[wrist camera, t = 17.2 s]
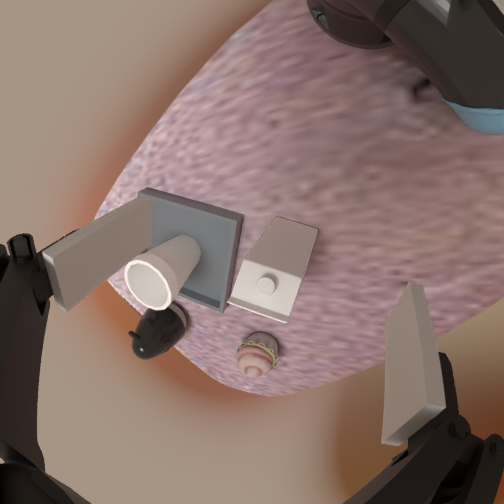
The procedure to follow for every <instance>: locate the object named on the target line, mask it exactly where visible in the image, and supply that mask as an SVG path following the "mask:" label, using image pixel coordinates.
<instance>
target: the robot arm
mask: <svg viewBox="0 0 504 504" xmlns="http://www.w3.org/2000/svg"><path fill="white" fill-rule="evenodd" d="M307 4H308V7H309V10H310V12H311V14H312V16H313V18H314V20H315V21H316V23H317V24H318V25H319V27H320V28H321V29H322V30H323V31H325V32H326V33H327V34H328V35H330V36H331V37H333V38H334V39H336V40H338V41H340V42H342V43H344V44H347V45H350V46H353V47H358V48H365V49H375V48H382V47H386V46H389V45H392V44H394V43H395V44H396V45H397V46H398V47H399V48H401V49H402V50H403V51H404V52H405V54H406V55H407V56H408V57H409V58H410V59H411V60H412V61H413V62H414V63H415V64H416V65H417V66H418V67H419V68H420V69H421V71H422V72H423V73H424V74H425V75H426V76H427V77H428V78H429V80H430V81H431V82H432V83H433V84H434V86H435V87H436V88H437V89H438V90H439V94H440V96H441V98H442V99H443V100H444V101H445V102H446V103H447V104H448V105H450V106H451V107H452V108H453V110H454V111H455V112H456V113H457V115H458V116H459V117H460V119H461V120H462V121H463V122H464V123H465V124H466V125H467V126H469V127H470V128H471V129H473V130H474V131H476V132H479V133H483V134H489V135H501V134H504V0H307ZM7 245H8V249H9V252H10V256H9V255H8V254H7V250H6V247H5V246H4V245H2V244H0V457H1V458H2V459H3V460H4V461H5V463H3V464H0V504H91V503H90V502H88V501H87V500H85V499H84V498H83V497H81V496H80V495H79V494H77V493H76V492H74V491H73V490H72V489H71V488H69V487H68V486H66V485H65V484H63V483H61V482H60V481H58V480H56V479H55V478H53V477H52V476H50V475H48V474H47V473H45V464H44V458H43V454H42V451H41V449H40V447H39V445H38V442H37V402H38V386H39V374H40V364H41V355H42V349H43V341H44V335H45V329H46V324H47V318H48V313H49V308H50V301H49V298H50V297H51V296H52V295H54V298H55V301H56V305H57V306H59V307H60V308H61V309H63V310H64V311H66V312H68V311H69V310H70V309H72V308H73V307H74V306H75V305H77V304H78V303H79V302H80V301H81V300H82V299H84V298H85V297H86V296H87V295H88V294H89V293H91V292H92V291H93V290H94V289H96V288H97V287H98V286H99V285H100V284H102V283H103V282H104V281H106V280H107V279H108V278H109V277H111V276H112V275H113V274H114V273H116V272H117V271H118V270H119V269H121V268H122V267H123V266H125V265H126V264H127V263H128V262H130V261H131V260H132V259H134V258H135V257H136V256H137V255H139V254H140V253H141V252H143V251H144V250H145V249H147V248H148V247H149V246H151V245H152V199H151V198H147V197H144V196H140V197H138V198H136V199H134V200H132V201H130V202H128V203H126V204H124V205H122V206H120V207H118V208H116V209H115V210H113V211H111V212H109V213H107V214H105V215H103V216H102V217H100V218H98V219H96V220H94V221H93V222H91V223H89V224H87V225H85V226H84V227H82V228H80V229H77V230H75V231H72V232H71V233H69V234H67V235H66V236H65V237H62V238H61V239H59V241H56V242H54V243H52V244H51V245H49V246H47V247H46V248H44V249H43V250H41V251H40V252H38V253H36V249H35V245H34V240H33V237H32V236H31V235H30V234H25V233H23V234H19V235H16V236H14V237H12V238H11V239H9V241H8V242H7ZM385 365H386V367H385V400H384V418H383V430H382V441H381V443H383V444H389V445H396V446H399V445H401V444H402V443H404V442H405V441H406V440H408V448H407V449H406V450H404V451H403V452H401V453H400V454H398V455H397V456H396V457H394V458H393V459H392V460H393V462H392V463H391V464H390V465H389V466H387V467H386V468H385V469H384V470H383V471H382V472H381V473H380V474H379V475H378V476H376V477H375V478H374V479H373V480H372V481H371V482H369V483H368V484H367V485H366V486H365V487H363V488H362V489H361V490H360V491H359V492H357V493H356V494H355V495H353V496H352V497H351V498H350V499H348V500H347V501H346V502H344V503H343V504H493V503H494V500H495V497H496V494H497V490H498V487H499V484H500V480H501V477H502V473H503V469H504V439H503V438H502V437H501V436H500V435H497V434H491V435H490V436H489V437H488V438H486V439H485V440H482V439H481V438H479V437H477V436H475V435H473V434H471V429H470V425H469V423H468V422H467V420H466V419H465V418H464V417H462V416H461V415H459V411H458V403H457V395H456V389H455V385H454V377H453V371H452V366H451V363H450V361H449V359H448V357H447V356H446V354H445V353H441V352H438V349H437V344H436V338H435V334H434V329H433V324H432V320H431V316H430V312H429V307H428V303H427V300H426V296H425V292H424V288H423V286H422V285H419V284H416V283H413V282H410V281H409V282H408V284H407V286H406V288H405V290H404V292H403V294H402V295H401V297H400V299H399V301H398V303H397V304H396V306H395V308H394V310H393V312H392V313H391V315H390V317H389V318H388V320H387V322H386V324H385Z"/></svg>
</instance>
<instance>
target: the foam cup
mask: <svg viewBox="0 0 504 504" xmlns="http://www.w3.org/2000/svg"><path fill="white" fill-rule="evenodd" d="M200 257H201V251H200V247H199V245H198V244H197V242H196V241H195V240H194V239H193V238H191V237H190V236H187V235H180V236H177V237H175V238H173V239H171V240H169V241H167V242H165V243H163V244H161V245H159V246H157V247H155V248H153V249H151V250H150V251H148V252H146V253H144V254H141V255H138V256H136V257H135V258H134V259H132V260H131V261H130V262H129V263H128V265H127V266H126V268H125V281H126V283H127V286H128V288H129V290H130V291H131V293H132V294H133V295H134V297H135V298H136V299H137V300H138V301H139V302H141V303H142V304H143V305H145V306H146V307H148V308H151V309H154V310H163V309H166V308H167V307H168V306H169V304H170V303H171V302H172V301H173V300H174V299H175V298H176V297H177V296H178V292H179V291H180V289H181V288H182V286H183V284H184V283H185V281H186V280H187V278H188V277H189V275H190V274H191V272H192V271H193V269H194V268H195V266H196V265H197V263H198V262H199V260H200Z"/></svg>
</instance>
